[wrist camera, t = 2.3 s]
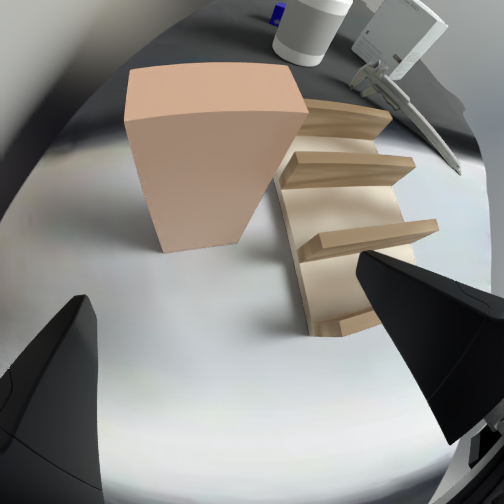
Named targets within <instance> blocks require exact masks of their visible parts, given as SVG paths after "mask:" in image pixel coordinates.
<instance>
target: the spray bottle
mask: <svg viewBox="0 0 504 504" xmlns="http://www.w3.org/2000/svg"><path fill="white" fill-rule="evenodd" d="M352 2H353V0H288V2H287V5H286V7H285V10H284V13H283V16H282V18H281V21H280V24H279V27H278V29H277V32H276V35H275V38H274V41H273V45H272V47H273V49H274V51H275V53H276V54H277V55H278V56H280V57H281V58H283V59H284V60H286V61H288V62H291V63H293V64H297V65H300V66H307V67H311V66H316V65H318V64H319V63H320V62H321V60H322V58H323V56H324V55H325V53H326V51H327V49H328V47H329V45H330V43H331V41H332V39H333V38H334V36H335V34H336V32H337V30H338V28H339V26H340V25H341V23H342V21H343V19H344V17H345V15H346V14H347V12H348V10H349V8H350V6H351V4H352Z"/></svg>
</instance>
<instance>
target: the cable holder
mask: <svg viewBox="0 0 504 504" xmlns="http://www.w3.org/2000/svg"><path fill="white" fill-rule="evenodd" d="M286 5H287V4H284V3H282V2H280V3H278V4H276V6H275V8H274V11H273V14H272V18H271V21H270V24H272V25H275V26H278V27H279V24H280V21H281V18H282V16H283V13H284V10H285V7H286Z"/></svg>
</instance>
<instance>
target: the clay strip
mask: <svg viewBox="0 0 504 504" xmlns="http://www.w3.org/2000/svg"><path fill="white" fill-rule="evenodd" d="M308 114H309V112H308V109H307V107H306V105H305V102H304V100H303V98H302V96H301V93H300V91H299V89H298V87H297V84H296V82H295V80H294V78H293V76H292V74H291V72H290V69H289V67H288V66H285V65H274V64H259V63H226V62H223V63H190V64H175V65H164V66H155V67H147V68H140V69H133V70H130V75H129V82H128V89H127V97H126V106H125V116H124V123H125V127H126V132H127V136H128V140H129V143H130V147H131V151H132V155H133V158H134V162H135V166H136V169H137V173H138V176H139V180H140V183H141V186H142V190H143V193H144V196H145V199H146V203H147V206H148V209H149V212H150V215H151V218H152V221H153V224H154V227H155V230H156V233H157V236H158V239H159V242H160V244H161V247H162V250H163V253H171V252H178V251H185V250H192V249H200V248H207V247H214V246H222V245H229V244H236V243H238V241H239V239H240V237H241V236H242V234H243V232H244V230H245V228H246V226H247V224H248V223H249V221H250V219H251V217H252V215H253V213H254V211H255V210H256V208H257V206H258V204H259V202H260V200H261V198H262V197H263V195H264V193H265V191H266V189H267V187H268V186H269V184H270V182H271V180H272V178H273V177H274V175H275V173H276V171H277V169H278V167H279V166H280V164H281V162H282V160H283V158H284V157H285V155H286V153H287V151H288V149H289V148H290V146H291V144H292V142H293V140H294V139H295V137H296V135H297V133H298V131H299V130H300V128H301V126H302V124H303V122H304V121H305V119H306V117H307V115H308Z"/></svg>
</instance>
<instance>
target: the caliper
mask: <svg viewBox="0 0 504 504" xmlns="http://www.w3.org/2000/svg"><path fill="white" fill-rule="evenodd" d="M379 65H380V60H379V61H378V62H376V63H375V64H373V63H371V62H369V63H367V64H366V65H364V66H363V67H362V68H360V69H359V70H358V72H357V73H356V75H355V76H354V78H353V79H352V81H351V83H350V85H349V88H350V89H352V88H353V87H355V86H356V85H357V84H359V83H360V82H362V81H363V80H364V79H366V78H368V79H369V80H370V81H372V82H373V83H371V84H370V85H368V86H367V87H366V88H364V89H363V91H361V92H360V96H361V97H365V96H368V95H372V94H375V93H378V92H380V93H381V94H382V95H383V97H384V99H385V100H386V102H387V103H388V104H390V105H391V106H392V107H393V109H394V110H395V111H397V110H398V109H401V110H402V111H403V112H404V113H405V114H406V115H407V116H408V117H409V118H410V120H411V121H412V122H413V123H414V124H415V125H416V126H417V127H418V128H419V129H420V130H421V132H422V133H423V134H424V135H425V136H426V137H427V138H428V140H429V141H430V142H431V143H432V144H433V146H434V147H435V148H436V149H437V151H438V152H439V153H440V154H441V156H442V157H443V158H444V159H445V161H446V162H447V163H448V164H449V165H450V166H451V167H452V168H453V169H454V170H456V171H457V172H458V174H459V175H460V176H461V168H460V162H459V161H458V159H457V158H456V157H455V155H454V154H453V153H452V151H451V150H450V149H449V147H448V146H447V145H446V143H445V142H444V141H443V140H442V138H441V137H440V136H439V135H438V133H437V132H436V131H435V130H434V129H433V127H432V126H431V125H430V124H429V123H428V122H427V120H426V119H425V118H424V117H423V116H422V115H421V114H420V113H419V111H418V110H417V109H416V108H415V107H414V106H413V105H412V104H411V103H410V98H409V97H408V96H407V95H406V94H405V93H404V92H403V91H402V90H401V89H400V88H399V87H398V86H397V85H396V84H395V83H394V82H393V81H392V80H391V79H390V78H389V77H388V76H387V75H386V74H384V75H381V74H382V73H384V72H385V71H387V68H388V67H380V68H379Z"/></svg>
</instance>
